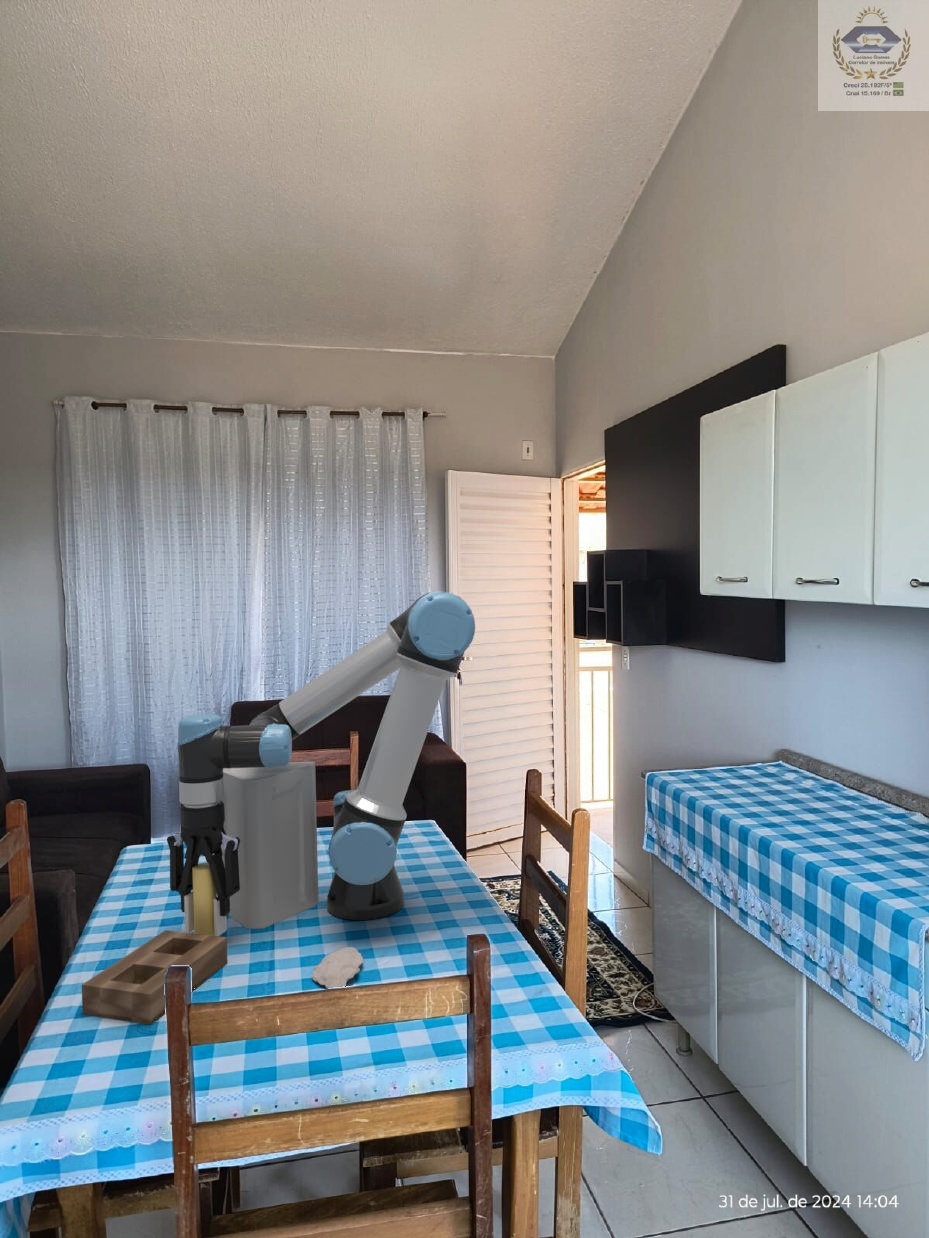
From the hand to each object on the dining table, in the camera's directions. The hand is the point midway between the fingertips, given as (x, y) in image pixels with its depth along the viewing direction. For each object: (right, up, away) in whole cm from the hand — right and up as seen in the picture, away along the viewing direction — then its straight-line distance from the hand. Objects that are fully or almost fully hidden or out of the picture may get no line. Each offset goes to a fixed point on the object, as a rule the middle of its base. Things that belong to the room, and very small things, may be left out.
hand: (206, 930), depth 146 cm
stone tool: (+26, -3, -12) cm, 29 cm away
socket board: (-2, -3, -16) cm, 16 cm away
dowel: (0, -2, 0) cm, 2 cm away
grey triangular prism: (+7, -2, +14) cm, 15 cm away
